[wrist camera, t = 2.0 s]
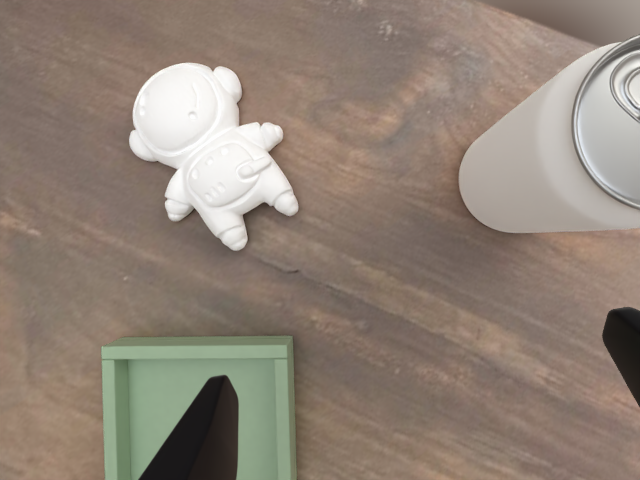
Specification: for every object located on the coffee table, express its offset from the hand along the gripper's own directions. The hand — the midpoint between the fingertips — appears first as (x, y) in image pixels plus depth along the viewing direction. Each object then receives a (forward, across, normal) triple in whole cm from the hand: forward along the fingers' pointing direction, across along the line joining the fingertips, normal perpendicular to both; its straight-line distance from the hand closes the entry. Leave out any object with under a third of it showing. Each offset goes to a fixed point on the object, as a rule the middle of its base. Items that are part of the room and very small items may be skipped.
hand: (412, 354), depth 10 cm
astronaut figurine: (+18, +8, +1) cm, 20 cm away
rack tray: (+9, +12, +14) cm, 21 cm away
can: (+15, -9, +5) cm, 19 cm away
